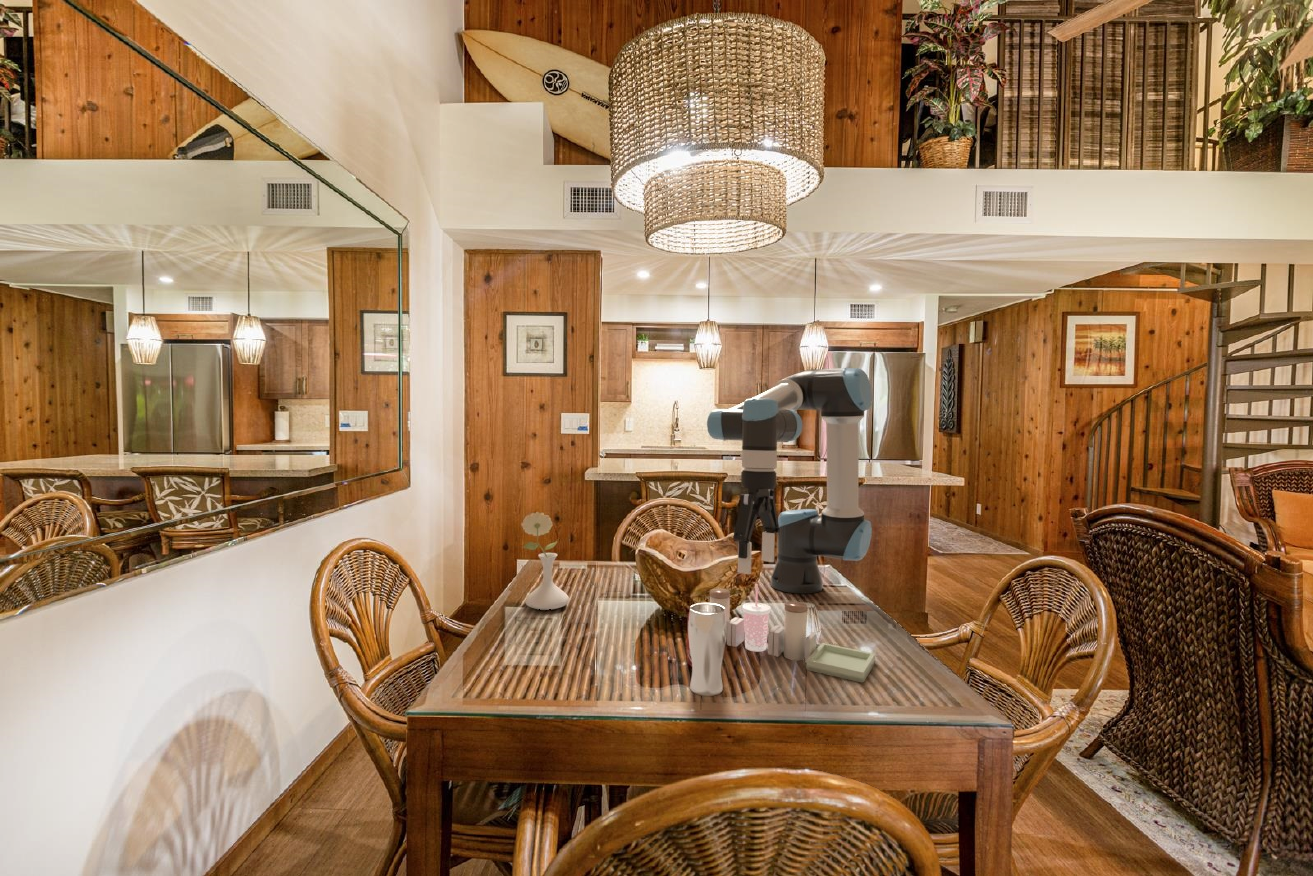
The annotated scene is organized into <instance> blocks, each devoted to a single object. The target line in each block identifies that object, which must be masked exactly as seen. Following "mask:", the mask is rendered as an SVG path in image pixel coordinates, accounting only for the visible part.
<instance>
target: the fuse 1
mask: <svg viewBox="0 0 1313 876" xmlns="http://www.w3.org/2000/svg"><path fill="white" fill-rule="evenodd" d="M709 603H712V604H718V605H721V606H723V607H724V608H725V614H726V642H725V644H727V622H729V621H730V620H731V619H730V617H731V616H730V615H731V613H730V611H731V607H730V605H731V604H730V603H731V591H730V590H729V589H726V588H718V587H717V588H712V589H709Z"/></svg>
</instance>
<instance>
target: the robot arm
mask: <svg viewBox="0 0 1313 876" xmlns="http://www.w3.org/2000/svg"><path fill="white" fill-rule="evenodd" d="M872 400H873V391H872V385H871V382H870V380H869V377H868V375H867V373H866V372H865V371H864V370H863V369H861V368H858V367H856V368H855V367H843V368H842V367H841V368H822V369H821V368H820V369H817V368H816V369H808V370H804V371H800V372H798V373H795V374H792V375H789V376H787V377H785V378H783V379H780V380H778V381H777V382H776V383H775V384H774V385H773V386H772V388H769V389H768V390H766V391H764V392H762V393H760V394H758V395H756V396H753V397H752V398H747V399H745V400H744V402H742V403H740V404H738V405H735V406H733V407H731V408H728V409H727V408H720V409H713V410H711V411H710V413H709V414H708V416H707V421H706V426H707V433H708V434H709V436H710V438H712V439H713V440H720V441H721V440H723V441H741V442H742V444H741V445H742V446H741V453H740V456H739V457H740V458H741V467H742V468H743V469H742V471H741V473H740V474H741V475H740V477H741V478H740V485H741V488H744V489H747V493H741V494H740V502H739V509H738V513H737V518H736V522H735V527H734V531H733V537H732V538H733V539H732V540H733V542H736V543H738V544H737V573H738V574H745V575H751V573H752V549H753V548H752V547H753V546H752V542H751V537H752V535H753V531H754V528H755V525H756V522H757V519H758V517H759V519H760V522H761V525H762V527H763V531H762V532H761V533H762V536H761V561H762V562H767V563H768V562H769V563H774V562H775V546H776V545H777V548H776V549H777V551H776V553H777V555H776V556H777V557H776V562H775V566H774V568H773V571H772V574H771V576H770V586H771V587H772V588H773V589H775V590H778V591H781V592H786V593H792V594H815V593H819V592H821V591H823V587H824V586H823V582H824V581H823V579H822V575H821V572H820V569H819V564H818V556H819V557H825V558H831V559H838V560H843V561H854V562H858V561H861V560H862V559H863V558H865V556H866V554H867V552H868V550H869V547H870V543H871V540H872V536H873V535H872V534H873V528H872V523H871V521H869V520H868V519H865V512H864V510H862V509H861V508H860V506H859V423H860V421H861V420H862V419H864V418H865V411H868V410H869V409H871V406H872ZM800 410H801V411H802V410H803V411H804V410H806V411H807V410H808V411H810V410H811V411H820V417H821V418H822V420H824V422H825V423H826V506H825V507H824V508H823V509H822V510H821V515H820V512H819V511H818V509H813V508H812V509H811V508H805V509H804V508H803V509H801V508H800V509H791V510H785V511H782V512H780V514H779V515H778V512H777V505H776V499H775V494H776V493H775V490H774V489H775V488H776V487H777V472H776V471H775V469H777V468H778V443H789V442H793V441H794V440H796V439H798V438H799V436H801V434H802V432H803V429H804V428H803V427H804V424H803V423H804V422H803V419H802V418H801V416H800V414H798V412H796V411H800ZM776 533H777V544H776V545H775V542H776V541H775V540H776V539H775V536H776Z"/></svg>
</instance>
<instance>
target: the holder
mask: <svg viewBox="0 0 1313 876" xmlns="http://www.w3.org/2000/svg"><path fill="white" fill-rule="evenodd" d="M817 636H818V635H817V632H813V631H812V632H811V633H810V634H809V635H808V636H806V639H805V659H804V663H805V664H806V660H807V659H808V658H809V657H810V655H811V654H812V653H813V652H814V651H815V650H816V649H817V648H818V647H819V646H820V645H821V644H818V643H817V638H818V637H817ZM743 642H745V632H744V618H740V617H733V618H732V619H730V621H729V622H727V642H726V645H727V646H730V647H734V648H737V647H738V646H739V645H741V644H742V643H743ZM767 644H768V645H767V655H769V656H774V657H779V656H780V655H781V654H783V653H784V626H781V625H776V624H775V626H773V627H771V628H770V629H768V634H767Z"/></svg>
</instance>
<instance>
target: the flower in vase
mask: <svg viewBox="0 0 1313 876" xmlns="http://www.w3.org/2000/svg"><path fill="white" fill-rule="evenodd" d="M520 525H521V527H522V529H523V530H524V533H526V534H528V535H532V536H533V537H536V540H537V542H533V541H530V542H529V541H528V542H527V543H526V544H524V545H523V547H522V549H526V550H531V551H535V550H536V549H537V548H538V547H539V548H540V549H541V551H542V553H539V554H538V558H539V559H540V562H541V563H542V569H543V570H542V571H543V575H542V582H541V584H540V585H538V587H536V588H535V589H534V590H533V591H531V592H530V593H529V594H528V595H527V596H526V598H525V604H526V605H527V607H529V608H532V609H535V610H539V609H540V610H541V611H546V610H547V611H550V610H549V609H551V610H556V609H559V608H563V607H565V606H567V605H568V603H569V602H570V597H569V596H568V594H567V593H566V592H565V591H563V589H561V588H560V587H558V586H557V585H556V584H555V583H554V580H553V566H554V562H555V560H556V558H558V553H555V552H546V551H548V550H551V549H553V548H554V547H556V545H557V543H558V540H556V541H555V542H552V543H548V544H547V545H546V546H545V547H544V548H543V547H542V546H541V544H540V542H539V541H540V540H539V537H541V536H543V535H545V534H547V533H548V534H549V533H550V530H551V529H552V527H553V525H554V524H553V521H552V518H551V517H550V515H549V514H548V515H547V514H545V513H544V512H541V513H540V512H539V511H536V512H531V513H530V514H527V515H526V516H525V517H524V519H523V520H522V522H521V523H520Z"/></svg>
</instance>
